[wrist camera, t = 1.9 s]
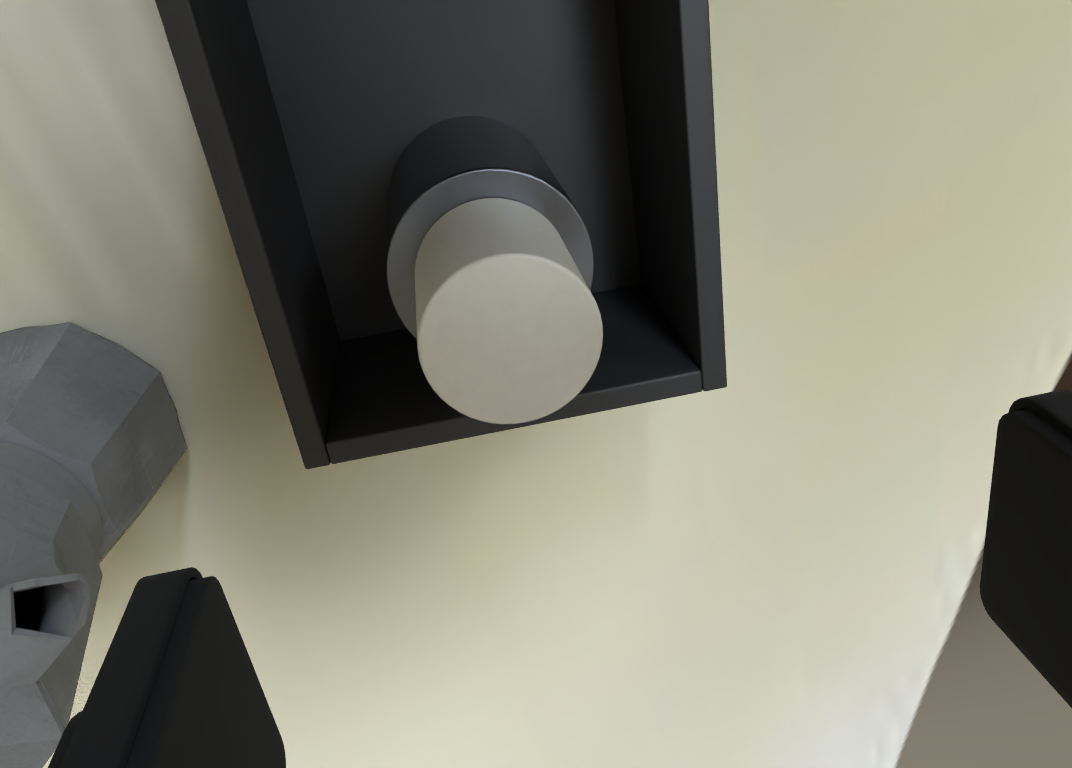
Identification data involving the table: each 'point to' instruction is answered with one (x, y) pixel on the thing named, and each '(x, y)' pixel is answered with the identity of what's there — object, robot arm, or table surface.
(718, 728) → the table surface
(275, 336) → the coffee maker
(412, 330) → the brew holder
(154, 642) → the robot arm
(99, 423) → the coffeepot
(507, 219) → the cylinder
